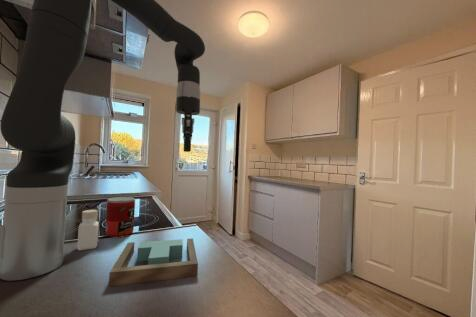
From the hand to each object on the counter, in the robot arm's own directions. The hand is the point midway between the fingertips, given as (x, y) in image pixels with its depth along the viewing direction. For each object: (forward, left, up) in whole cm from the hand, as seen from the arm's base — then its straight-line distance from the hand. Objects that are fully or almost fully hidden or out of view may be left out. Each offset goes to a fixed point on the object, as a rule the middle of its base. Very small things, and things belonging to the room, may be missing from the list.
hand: (187, 151), depth 66 cm
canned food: (-19, +5, -27) cm, 34 cm away
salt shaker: (-24, -5, -27) cm, 37 cm away
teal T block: (-6, -17, -27) cm, 32 cm away
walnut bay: (-6, -17, -27) cm, 32 cm away
